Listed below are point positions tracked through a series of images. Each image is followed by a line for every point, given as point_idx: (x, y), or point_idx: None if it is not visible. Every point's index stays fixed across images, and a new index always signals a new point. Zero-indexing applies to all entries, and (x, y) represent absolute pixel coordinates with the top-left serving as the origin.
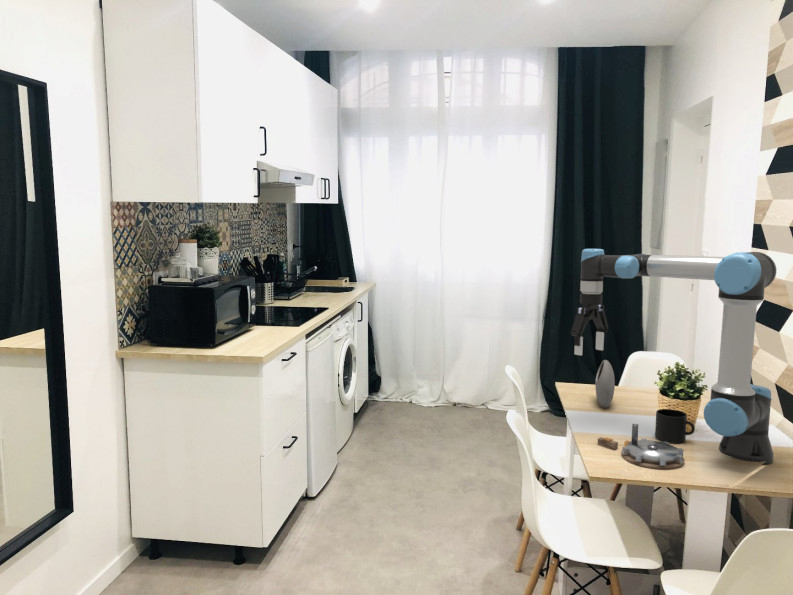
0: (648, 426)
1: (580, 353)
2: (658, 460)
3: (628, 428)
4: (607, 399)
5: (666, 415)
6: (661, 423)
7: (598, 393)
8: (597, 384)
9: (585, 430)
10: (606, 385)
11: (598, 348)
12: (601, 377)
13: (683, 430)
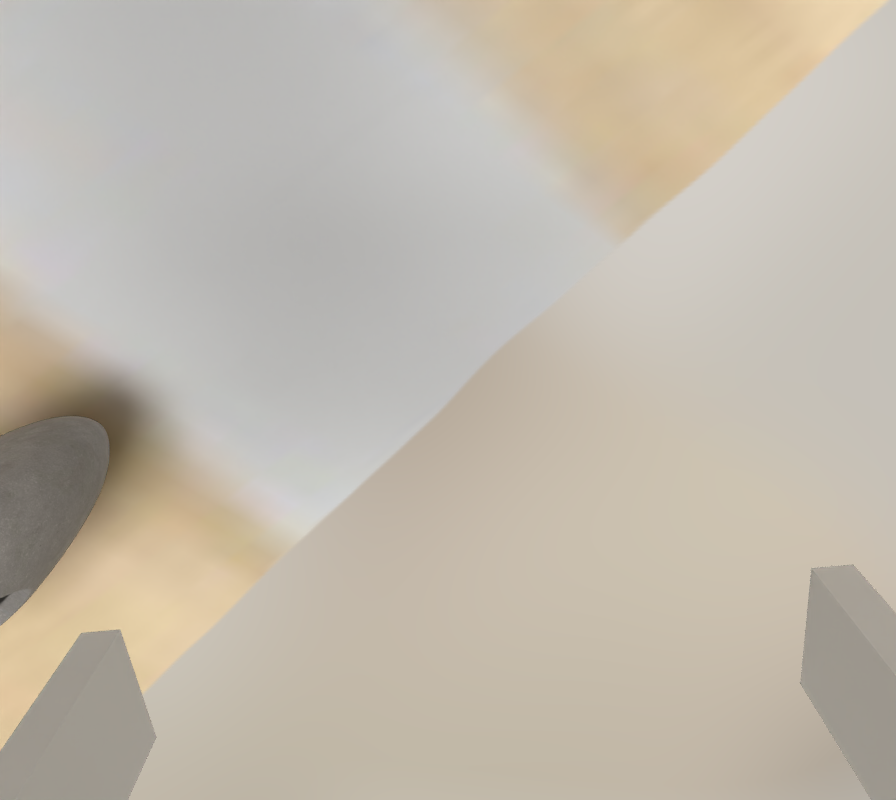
0: (86, 8)
1: (872, 600)
2: None
3: (263, 74)
4: (88, 420)
5: None
6: None
7: (89, 512)
8: (51, 568)
9: (559, 230)
10: (48, 476)
11: (130, 712)
12: (20, 567)
13: None
